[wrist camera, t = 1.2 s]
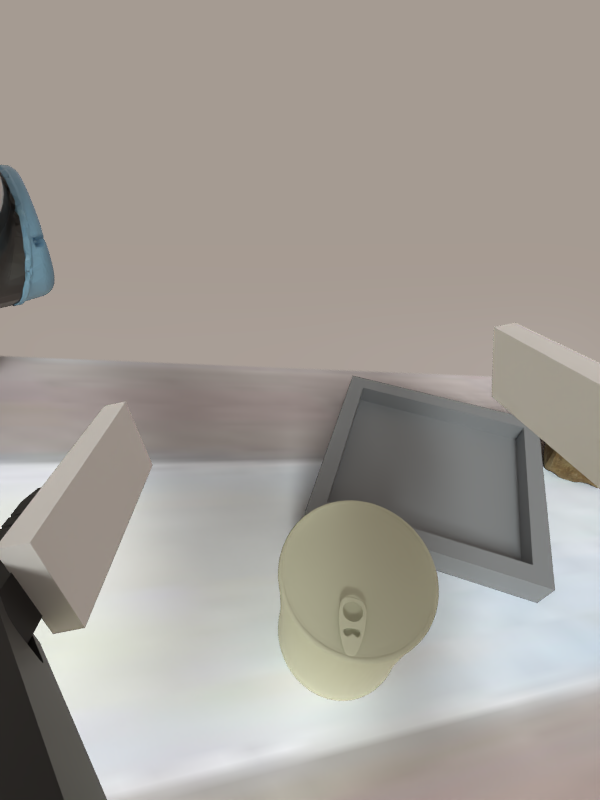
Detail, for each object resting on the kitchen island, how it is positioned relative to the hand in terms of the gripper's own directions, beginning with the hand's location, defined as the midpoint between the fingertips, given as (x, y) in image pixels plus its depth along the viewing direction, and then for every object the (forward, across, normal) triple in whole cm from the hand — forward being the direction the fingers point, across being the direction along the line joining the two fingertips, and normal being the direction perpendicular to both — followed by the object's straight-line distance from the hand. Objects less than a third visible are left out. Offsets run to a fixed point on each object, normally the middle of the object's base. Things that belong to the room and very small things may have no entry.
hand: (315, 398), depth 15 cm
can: (+8, -1, -24) cm, 25 cm away
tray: (+19, +10, -21) cm, 30 cm away
